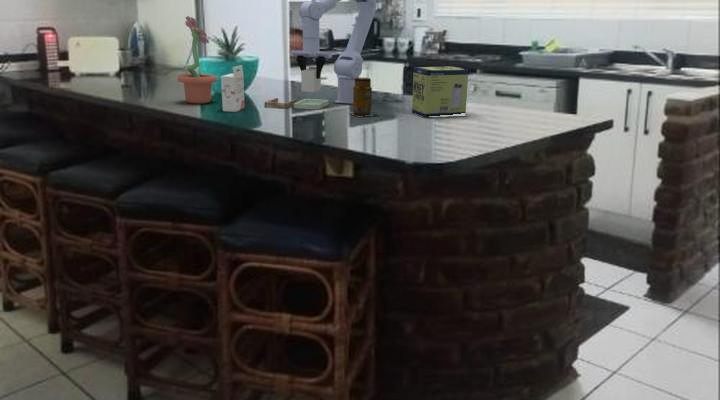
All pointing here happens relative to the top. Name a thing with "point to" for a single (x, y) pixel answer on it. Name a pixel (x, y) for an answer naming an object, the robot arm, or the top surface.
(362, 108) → the condiment
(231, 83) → the ink cartridge box
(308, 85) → the light grey square block
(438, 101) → the protein box
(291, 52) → the robot arm
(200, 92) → the decorative flower
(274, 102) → the caddy bay
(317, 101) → the tray
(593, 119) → the top surface
